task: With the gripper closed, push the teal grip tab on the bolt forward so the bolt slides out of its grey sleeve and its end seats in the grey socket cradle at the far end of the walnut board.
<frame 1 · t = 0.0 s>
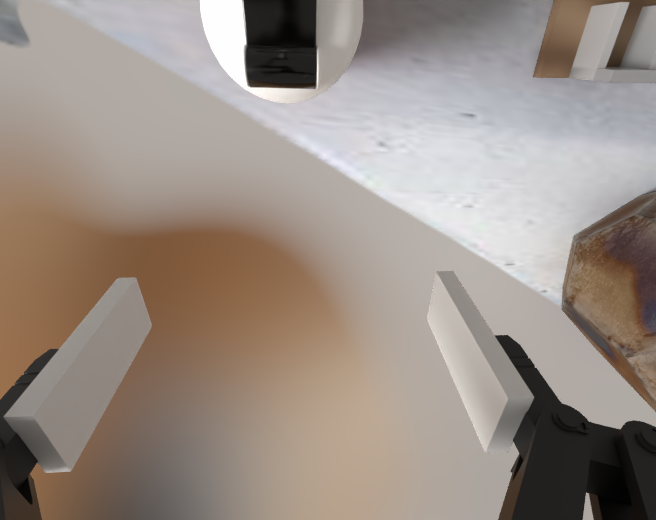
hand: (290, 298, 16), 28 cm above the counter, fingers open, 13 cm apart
planter: (621, 252, 50), on the counter
socket: (599, 43, 36), resting on board
shaker bottle: (294, 28, 34), on the counter
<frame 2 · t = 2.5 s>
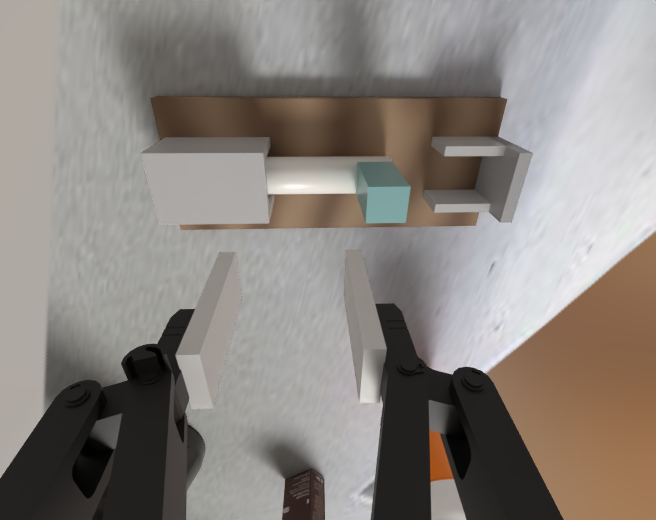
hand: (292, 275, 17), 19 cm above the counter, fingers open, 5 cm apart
sleeve: (225, 166, 33), resting on board
bolt: (276, 186, 29), point 6 cm above the counter, slide at 0.0 cm
board: (331, 165, 34), on the counter
socket: (454, 164, 34), resting on board
shaker bottle: (404, 379, 50), on the counter
box: (303, 477, 63), on the counter
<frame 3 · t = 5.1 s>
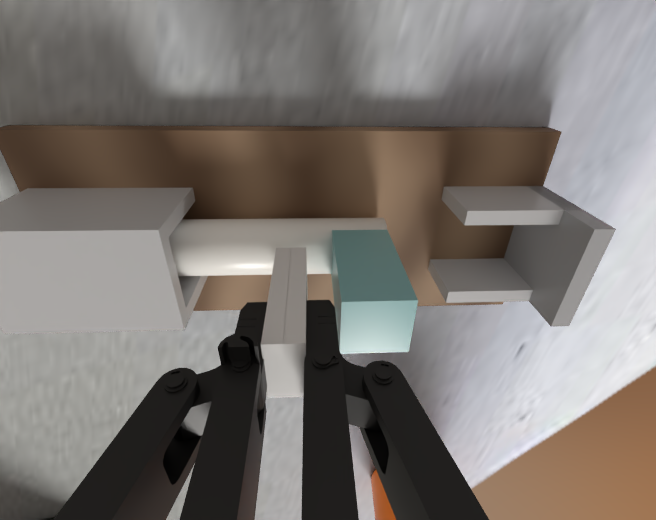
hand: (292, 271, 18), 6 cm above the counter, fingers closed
sleeve: (134, 225, 22), resting on board
bolt: (199, 273, 18), point 6 cm above the counter, slide at 0.3 cm, touching gripper
board: (292, 224, 23), on the counter
socket: (474, 222, 23), resting on board
shaker bottle: (401, 472, 40), on the counter
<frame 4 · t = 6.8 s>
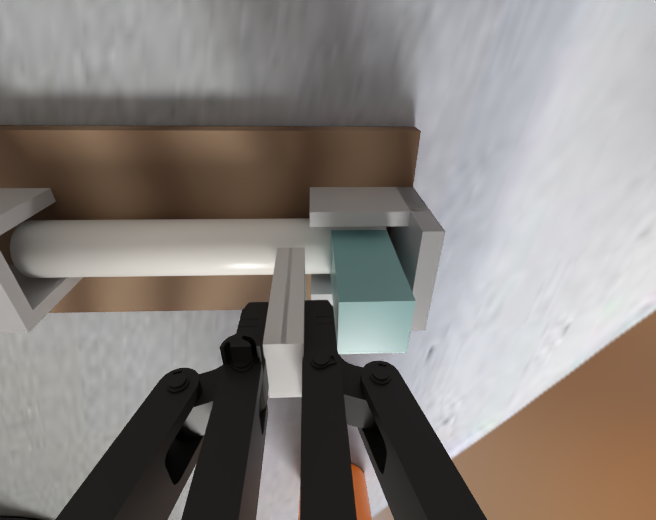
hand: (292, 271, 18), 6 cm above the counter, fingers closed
sleeve: (7, 226, 22), resting on board
bolt: (198, 273, 18), point 6 cm above the counter, slide at 8.1 cm, touching gripper
board: (169, 224, 22), on the counter
socket: (356, 223, 23), resting on board
shaker bottle: (332, 476, 39), on the counter
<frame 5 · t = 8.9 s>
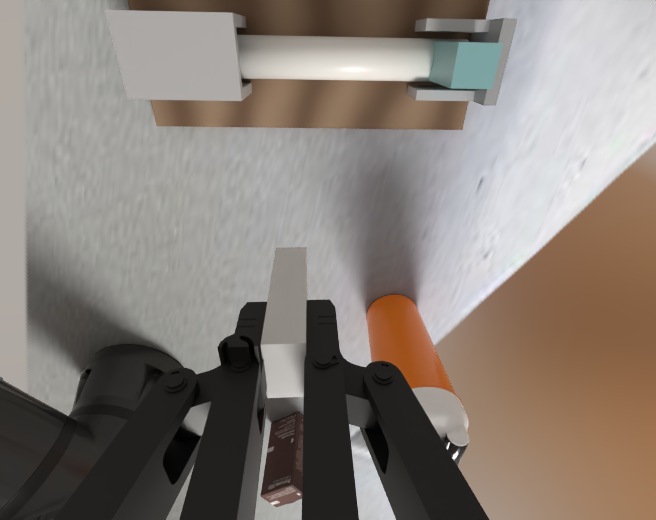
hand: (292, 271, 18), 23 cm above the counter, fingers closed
sleeve: (201, 54, 32), resting on board
bolt: (351, 60, 28), point 6 cm above the counter, slide at 8.0 cm
board: (311, 56, 32), on the counter
socket: (440, 59, 33), resting on board
shaker bottle: (391, 312, 49), on the counter
box: (290, 421, 62), on the counter
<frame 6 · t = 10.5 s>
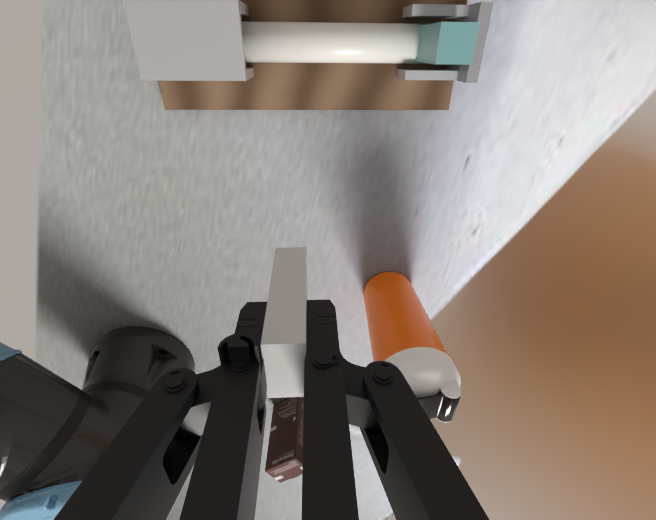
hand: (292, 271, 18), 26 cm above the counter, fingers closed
sleeve: (206, 42, 35), resting on board
bolt: (345, 43, 30), point 6 cm above the counter, slide at 8.0 cm
board: (308, 43, 35), on the counter
socket: (426, 44, 36), resting on board
shaker bottle: (387, 290, 52), on the counter
box: (291, 402, 64), on the counter
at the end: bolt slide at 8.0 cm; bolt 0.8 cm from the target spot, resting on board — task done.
